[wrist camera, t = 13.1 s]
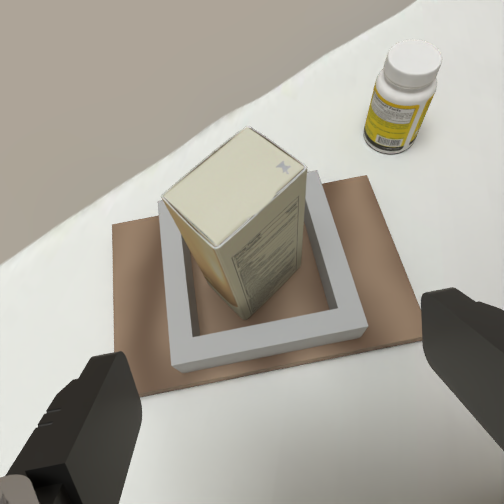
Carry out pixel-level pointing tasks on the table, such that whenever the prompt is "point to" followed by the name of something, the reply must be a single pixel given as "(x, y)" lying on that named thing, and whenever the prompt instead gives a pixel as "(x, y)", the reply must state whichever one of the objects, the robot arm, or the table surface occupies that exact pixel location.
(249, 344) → the collar
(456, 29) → the table surface
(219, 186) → the skincare box
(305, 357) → the board
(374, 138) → the supplement bottle
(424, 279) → the table surface
